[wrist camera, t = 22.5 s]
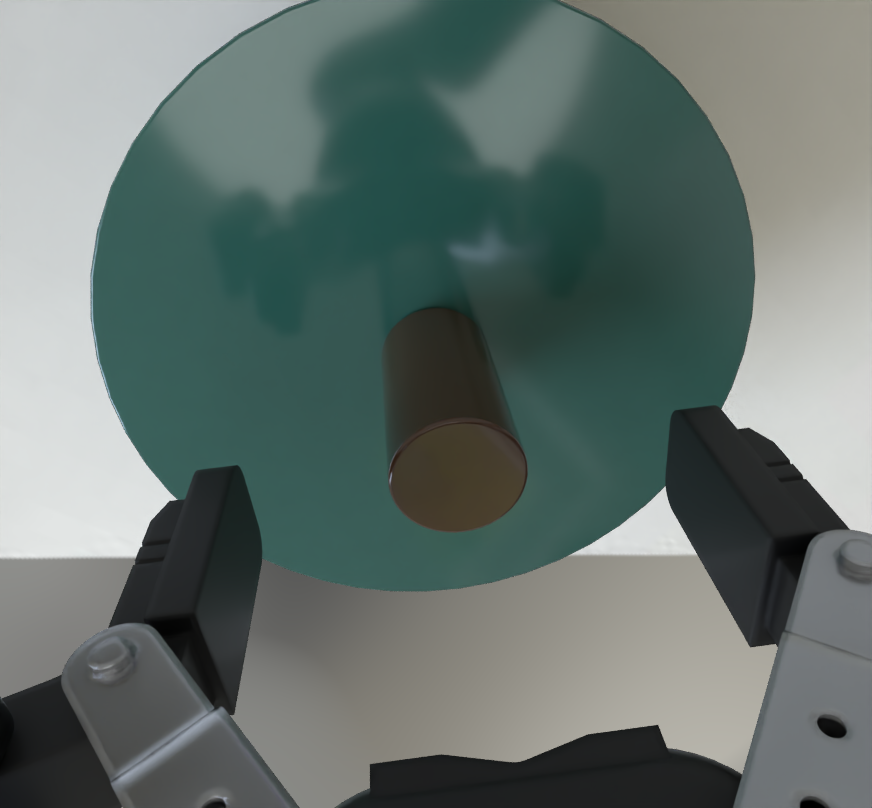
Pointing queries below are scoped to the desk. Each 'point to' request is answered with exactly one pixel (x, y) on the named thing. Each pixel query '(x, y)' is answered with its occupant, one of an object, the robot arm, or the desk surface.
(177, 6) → the desk surface
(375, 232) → the lid
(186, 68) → the desk surface
